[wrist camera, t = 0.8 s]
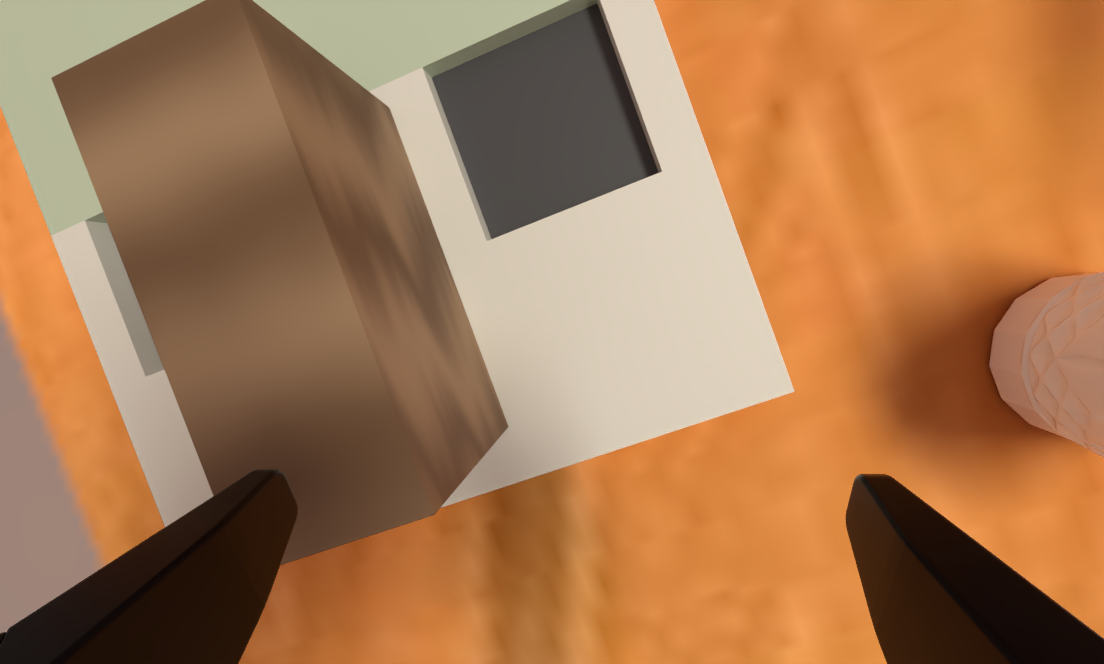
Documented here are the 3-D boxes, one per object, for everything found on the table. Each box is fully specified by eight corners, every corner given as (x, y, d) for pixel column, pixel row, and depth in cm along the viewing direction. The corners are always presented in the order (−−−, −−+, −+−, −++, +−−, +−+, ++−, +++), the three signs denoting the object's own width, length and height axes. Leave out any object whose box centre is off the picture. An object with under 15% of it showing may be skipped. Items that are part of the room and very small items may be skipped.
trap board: (784, 385, 25) (794, 391, 24) (211, 575, 29) (190, 590, 28) (540, -291, 24) (535, -329, 23) (-11, 4, 29) (-46, -11, 27)
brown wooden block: (508, 426, 25) (434, 514, 15) (388, 468, 26) (244, 576, 16) (389, 107, 25) (234, -14, 15) (271, 160, 26) (51, 77, 16)
